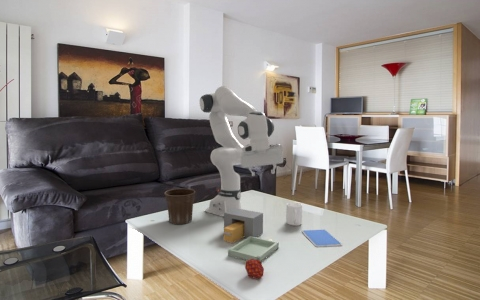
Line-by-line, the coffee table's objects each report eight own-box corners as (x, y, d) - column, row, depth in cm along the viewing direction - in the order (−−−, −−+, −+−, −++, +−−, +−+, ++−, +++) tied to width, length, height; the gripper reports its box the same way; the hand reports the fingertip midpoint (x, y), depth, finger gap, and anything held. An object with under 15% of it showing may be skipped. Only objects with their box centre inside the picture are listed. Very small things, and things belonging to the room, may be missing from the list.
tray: (228, 255, 130) (228, 249, 130) (250, 241, 146) (250, 236, 145) (258, 263, 123) (258, 257, 123) (278, 248, 138) (278, 242, 138)
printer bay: (223, 233, 156) (223, 212, 155) (234, 227, 164) (235, 208, 164) (252, 239, 148) (253, 218, 147) (262, 233, 156) (263, 213, 155)
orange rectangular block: (222, 241, 146) (222, 228, 145) (238, 233, 157) (238, 221, 156) (231, 243, 143) (231, 230, 143) (247, 235, 154) (247, 223, 153)
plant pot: (181, 228, 162) (181, 196, 161) (158, 222, 171) (157, 192, 169) (201, 219, 176) (201, 190, 175) (179, 215, 185) (179, 187, 183)
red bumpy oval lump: (254, 287, 110) (238, 271, 115) (266, 277, 115) (249, 263, 119) (259, 274, 108) (242, 259, 112) (271, 264, 112) (254, 250, 117)
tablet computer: (343, 247, 141) (343, 244, 141) (315, 248, 140) (315, 245, 139) (325, 231, 160) (325, 229, 160) (300, 232, 159) (301, 230, 159)
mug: (303, 228, 163) (304, 208, 162) (287, 228, 164) (287, 208, 163) (300, 221, 175) (301, 202, 174) (285, 220, 176) (285, 202, 175)
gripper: (280, 142, 155) (283, 171, 157) (238, 148, 155) (242, 176, 156) (283, 143, 149) (286, 173, 150) (239, 149, 149) (242, 178, 150)
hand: (263, 174), depth 153 cm, fingers open, 8 cm apart
